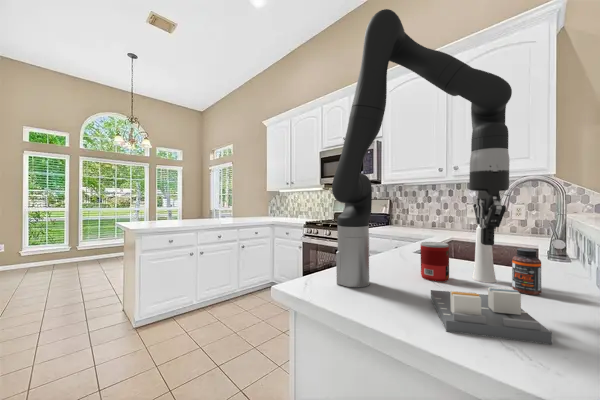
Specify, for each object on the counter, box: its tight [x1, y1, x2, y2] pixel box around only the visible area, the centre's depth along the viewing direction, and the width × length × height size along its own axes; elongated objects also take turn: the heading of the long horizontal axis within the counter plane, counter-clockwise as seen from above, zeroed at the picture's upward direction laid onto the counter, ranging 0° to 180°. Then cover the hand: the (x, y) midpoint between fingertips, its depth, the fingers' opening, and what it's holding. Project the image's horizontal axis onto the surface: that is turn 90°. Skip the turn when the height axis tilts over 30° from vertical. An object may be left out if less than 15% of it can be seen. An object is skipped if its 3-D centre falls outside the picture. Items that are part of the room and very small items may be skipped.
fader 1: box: [449, 290, 481, 315], centre depth 52 cm, size 5×3×4 cm, turn 72°
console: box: [430, 289, 553, 345], centre depth 56 cm, size 16×18×3 cm
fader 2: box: [487, 286, 522, 315], centre depth 54 cm, size 5×3×4 cm, turn 72°
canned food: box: [420, 241, 450, 283], centre depth 84 cm, size 8×8×11 cm
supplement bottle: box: [511, 247, 542, 296], centre depth 71 cm, size 6×6×11 cm
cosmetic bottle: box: [471, 224, 497, 284], centre depth 82 cm, size 6×6×22 cm
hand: (487, 244), depth 62 cm, fingers closed
